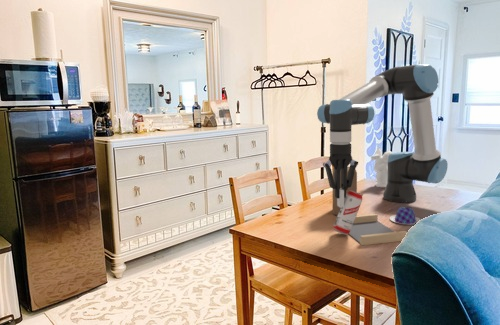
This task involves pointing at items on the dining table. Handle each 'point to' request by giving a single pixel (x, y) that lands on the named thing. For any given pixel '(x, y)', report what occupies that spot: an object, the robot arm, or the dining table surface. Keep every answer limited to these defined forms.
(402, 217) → the pudding
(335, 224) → the beer can
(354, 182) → the wooden block
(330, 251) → the dining table surface
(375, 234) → the cradle
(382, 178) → the cherub figurine
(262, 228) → the dining table surface
